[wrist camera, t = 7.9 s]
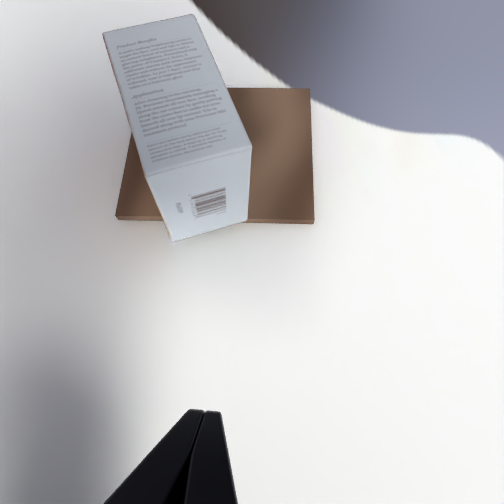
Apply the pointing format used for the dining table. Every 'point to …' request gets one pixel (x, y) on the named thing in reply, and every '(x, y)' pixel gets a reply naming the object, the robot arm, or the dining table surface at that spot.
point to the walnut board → (252, 160)
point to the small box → (182, 125)
